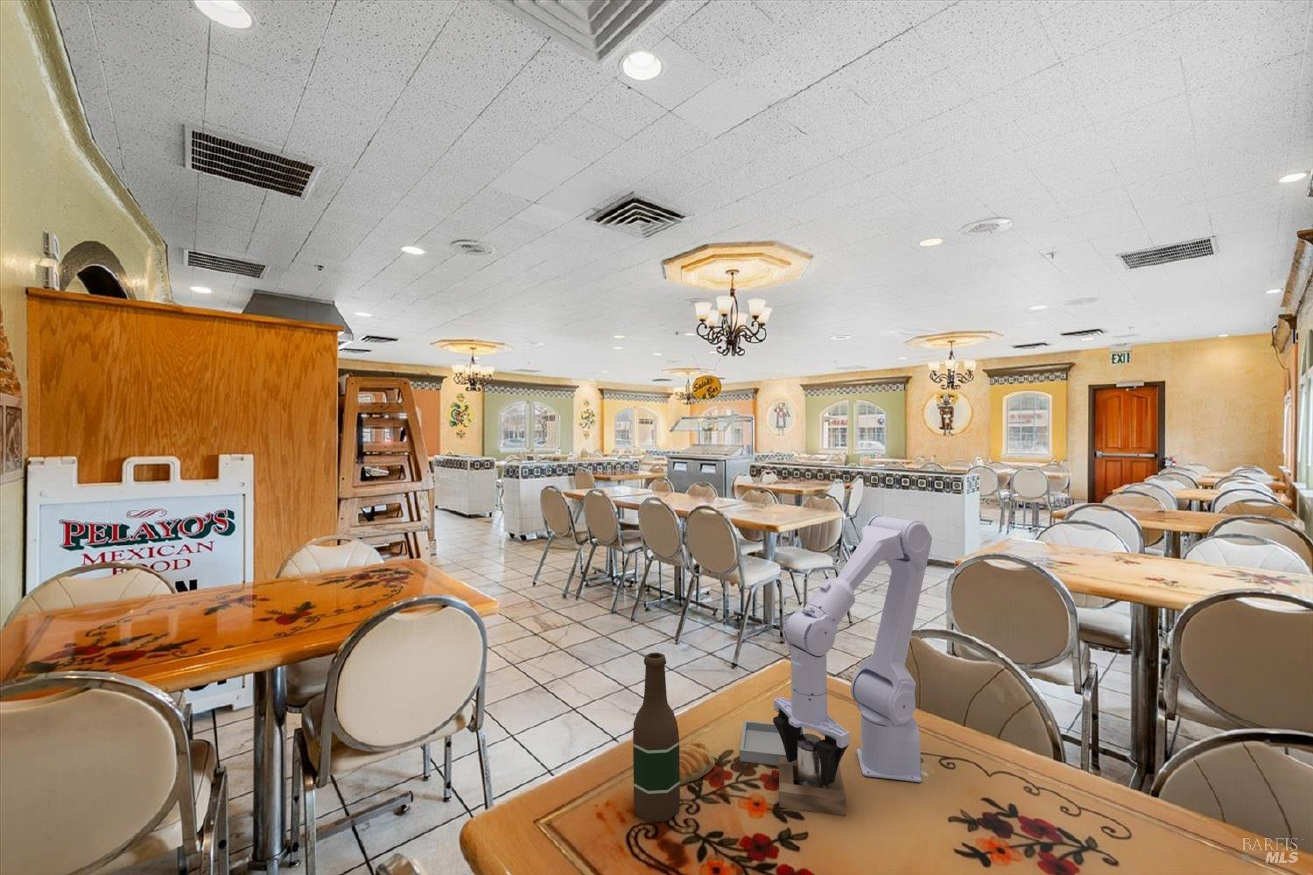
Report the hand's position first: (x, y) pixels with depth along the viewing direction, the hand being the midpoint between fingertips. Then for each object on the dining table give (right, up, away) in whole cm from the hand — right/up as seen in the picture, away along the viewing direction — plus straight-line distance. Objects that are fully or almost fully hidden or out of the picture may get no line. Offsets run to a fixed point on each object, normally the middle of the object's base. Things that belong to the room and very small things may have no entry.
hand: (810, 770), depth 91 cm
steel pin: (0, -3, 0) cm, 3 cm away
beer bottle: (-25, -4, -4) cm, 26 cm away
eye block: (0, -3, 0) cm, 3 cm away
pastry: (-19, -4, +6) cm, 21 cm away
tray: (-3, -4, +13) cm, 14 cm away
